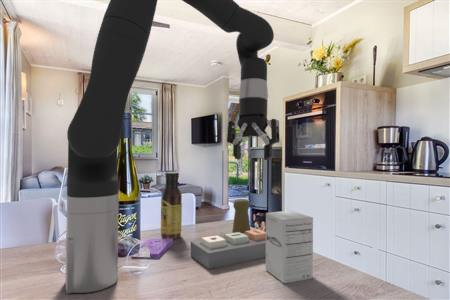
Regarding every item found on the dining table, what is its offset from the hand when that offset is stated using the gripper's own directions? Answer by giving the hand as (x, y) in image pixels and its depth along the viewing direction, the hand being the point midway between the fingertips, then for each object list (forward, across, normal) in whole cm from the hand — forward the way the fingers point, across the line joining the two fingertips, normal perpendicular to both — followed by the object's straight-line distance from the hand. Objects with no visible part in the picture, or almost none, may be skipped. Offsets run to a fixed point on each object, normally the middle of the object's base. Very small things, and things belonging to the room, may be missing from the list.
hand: (251, 159), depth 77 cm
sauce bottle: (+24, -26, -1) cm, 36 cm away
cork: (+24, -10, +14) cm, 29 cm away
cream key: (+22, -5, -10) cm, 24 cm away
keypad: (+24, -2, -4) cm, 25 cm away
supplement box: (+24, +14, -9) cm, 29 cm away
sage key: (+22, -2, -5) cm, 22 cm away
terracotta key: (+21, +1, +1) cm, 21 cm away
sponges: (+25, -22, -12) cm, 36 cm away
